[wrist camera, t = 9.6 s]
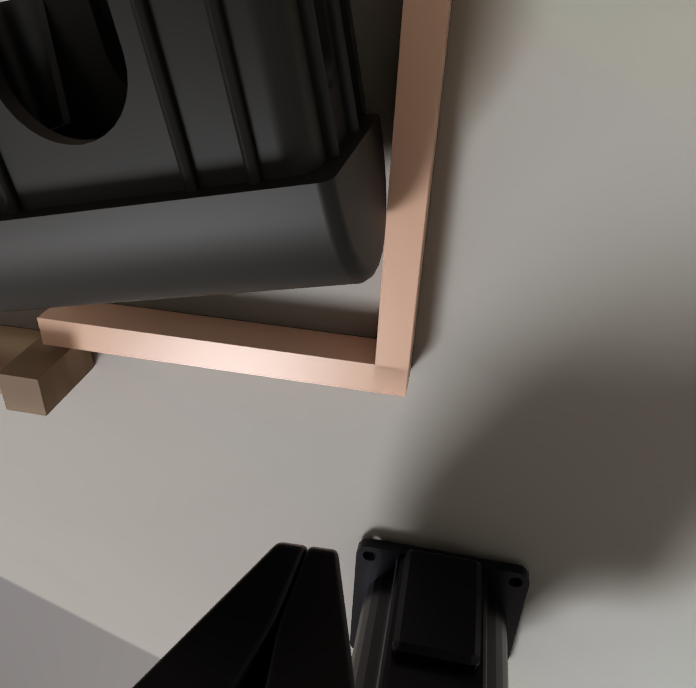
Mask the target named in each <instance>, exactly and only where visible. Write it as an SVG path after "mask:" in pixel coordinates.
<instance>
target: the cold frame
mask: <svg viewBox="0 0 696 688" xmlns="http://www.w3.org/2000/svg"><path fill="white" fill-rule="evenodd" d="M93 367H94V361H93V356H92V351H86V350H79V349H72V348H65V347H58V346H51V345H44V344H43V342H42V338H41V333H40V331H38V330H31V329H24V328H17V327H10V326H3V325H0V393H1V394H3V398H4V401H5V405H6V409H7V410H13V411H20V412H26V413H32V414H38V415H44V416H47V415H48V414H49V413H50V412H51V410H52V409H53V408H54V407H55V406H56V405H57V404H58V403H59V402H60V401H61V400H62V399H63V398H64V397H65V396H66V395H67V394H68V393H69V392H70V391H71V390H72V389H73V388H74V387H75V386H76V385H77V384H78V383H79V382H80V381H81V380H82V379H83V378H84V377H85V376H86V375H87V374H88V372H89V371H90V370H91V369H92V368H93Z"/></svg>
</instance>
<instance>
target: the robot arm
mask: <svg viewBox="0 0 696 688" xmlns="http://www.w3.org/2000/svg"><path fill="white" fill-rule="evenodd" d="M367 551H370V552H373V553H370V552H367ZM528 587H529V572H528V571H527V569H526V568H524V567H523V566H520V565H517V564H511V563H505V562H500V561H494V560H488V559H483V558H477V557H471V556H466V555H460V554H454V553H449V552H443V551H437V550H432V549H426V548H420V547H415V546H409V545H403V544H397V543H392V542H386V541H380V540H375V539H364V540H362V541H361V542H359V545H358V549H357V553H356V566H355V580H354V594H353V607H352V621H351V635H350V641H349V633H348V626H347V618H346V610H345V603H344V595H343V587H342V579H341V572H340V564H339V557H338V553H337V551H335V550H333V549H326V548H319V547H310V548H309V549H308V550H307V548H306V547H305V546H303V545H298V544H291V543H278V544H276V545H275V546H274V547H273V548H272V549H271V550H270V551H269V552H268V553H267V554H266V555H265V556H264V557H263V558H262V559H261V560H260V561H259V562H258V563H257V564H256V565H255V566H254V567H253V568H252V569H251V570H250V571H249V572H248V573H247V574H246V575H245V576H244V577H243V578H242V579H241V580H240V581H239V582H238V583H237V584H236V585H235V586H234V587H233V588H232V589H231V590H230V591H229V592H228V593H227V594H226V595H225V596H224V597H223V598H222V599H221V600H220V601H219V602H218V603H217V604H216V605H215V606H214V607H213V608H212V609H211V610H210V611H209V612H208V613H207V614H206V615H205V616H204V617H203V618H202V619H201V620H200V621H199V622H198V623H197V624H196V625H195V626H194V627H193V628H192V629H191V630H190V631H189V632H188V633H187V634H186V635H185V636H184V637H183V638H182V639H181V640H180V641H179V642H178V643H177V644H176V645H175V646H174V647H173V648H172V649H171V650H170V651H169V652H168V653H167V654H166V655H165V656H164V657H163V658H162V659H161V660H160V661H159V662H158V663H157V664H156V665H155V666H154V667H153V668H152V669H151V670H150V671H149V672H148V673H147V674H146V675H145V676H144V677H143V678H142V679H141V680H140V681H139V682H138V683H137V684H136V685H135V686H134V687H133V688H508V658H509V655H510V651H511V647H512V644H513V640H514V637H515V633H516V630H517V626H518V623H519V619H520V616H521V612H522V608H523V605H524V601H525V598H526V594H527V591H528ZM350 645H351V646H352V648H354V649H353V654H352V656H351V649H350Z"/></svg>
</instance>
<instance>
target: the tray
mask: <svg viewBox="0 0 696 688" xmlns="http://www.w3.org/2000/svg"><path fill="white" fill-rule="evenodd" d="M451 4H452V0H403V11H402V24H401V37H400V50H399V62H398V75H397V88H396V101H395V114H394V127H393V140H392V153H391V165H390V178H389V191H388V204H387V217H386V230H385V243H384V256H383V268H382V281H381V294H380V307H379V320H378V333H377V339H373V338H365V337H358V336H350V335H343V334H335V333H328V332H320V331H313V330H305V329H298V328H290V327H283V326H275V325H268V324H260V323H253V322H245V321H238V320H230V319H223V318H215V317H208V316H200V315H193V314H185V313H178V312H170V311H163V310H155V309H148V308H140V307H133V306H125V305H118V304H110V303H105V304H93V305H80V306H67V307H55V308H49V309H47V310H46V311H45V312H43V313H42V314H41V315H40V316H38V317H37V320H38V325H39V329H40V333H41V338H42V342H43V344H44V345H51V346H58V347H65V348H72V349H79V350H86V351H93V352H99V353H106V354H113V355H120V356H127V357H134V358H141V359H148V360H155V361H162V362H169V363H175V364H182V365H189V366H196V367H203V368H210V369H217V370H224V371H231V372H238V373H244V374H251V375H258V376H265V377H272V378H279V379H286V380H293V381H300V382H307V383H314V384H320V385H327V386H334V387H341V388H348V389H355V390H362V391H369V392H376V393H383V394H390V395H396V396H403V397H405V396H406V391H407V386H408V381H409V376H410V371H411V362H412V353H413V344H414V335H415V326H416V317H417V308H418V299H419V290H420V281H421V272H422V263H423V254H424V246H425V237H426V228H427V219H428V210H429V201H430V192H431V183H432V174H433V165H434V156H435V147H436V138H437V129H438V120H439V111H440V102H441V94H442V85H443V76H444V67H445V58H446V49H447V40H448V31H449V22H450V13H451Z"/></svg>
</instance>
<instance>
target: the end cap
mask: <svg viewBox="0 0 696 688" xmlns="http://www.w3.org/2000/svg"><path fill="white" fill-rule="evenodd" d="M385 226H386V176H385V159H384V148H383V137H382V129H381V121H380V114H367V115H366V107H365V100H364V93H363V86H362V79H361V73H360V66H359V59H358V53H357V46H356V39H355V33H354V26H353V19H352V12H351V6H350V0H9V1H4V2H0V311H17V310H29V309H42V308H55V307H67V306H80V305H93V304H105V303H118V302H131V301H143V300H156V299H168V298H181V297H194V296H206V295H219V294H232V293H244V292H257V291H270V290H282V289H295V288H308V287H320V286H333V285H346V284H358V283H363V282H364V281H366V280H368V279H369V278H370V277H372V276H373V274H374V273H375V271H376V269H377V267H378V265H379V262H380V259H381V255H382V252H383V245H384V238H385Z"/></svg>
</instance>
